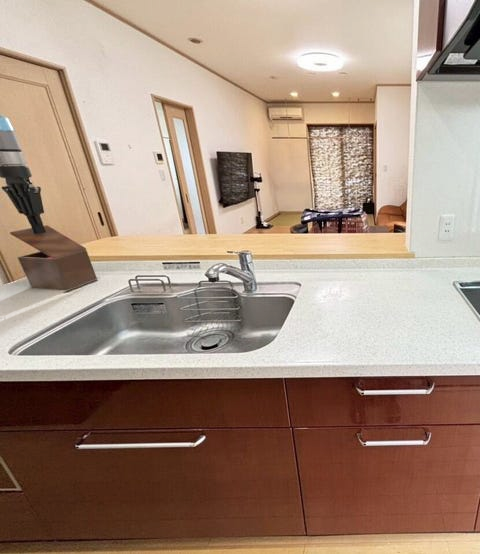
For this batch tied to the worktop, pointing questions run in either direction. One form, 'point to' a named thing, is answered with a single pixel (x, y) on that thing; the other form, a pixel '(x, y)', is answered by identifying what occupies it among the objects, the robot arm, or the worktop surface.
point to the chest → (58, 270)
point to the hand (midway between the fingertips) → (40, 232)
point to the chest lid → (49, 242)
